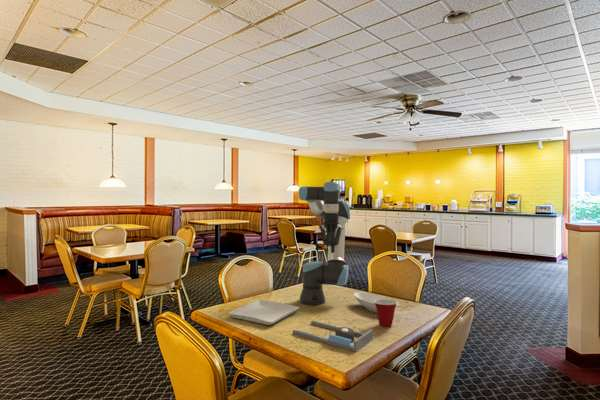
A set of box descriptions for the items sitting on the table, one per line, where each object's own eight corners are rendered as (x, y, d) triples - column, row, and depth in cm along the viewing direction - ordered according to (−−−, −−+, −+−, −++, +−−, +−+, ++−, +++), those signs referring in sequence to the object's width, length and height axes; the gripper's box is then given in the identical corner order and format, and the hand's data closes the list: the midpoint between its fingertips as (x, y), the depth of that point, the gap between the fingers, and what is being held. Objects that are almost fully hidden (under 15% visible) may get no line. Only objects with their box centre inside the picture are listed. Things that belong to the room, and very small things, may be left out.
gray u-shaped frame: (292, 333, 158) (292, 324, 158) (312, 323, 171) (312, 315, 171) (355, 352, 139) (355, 342, 139) (372, 339, 152) (373, 329, 152)
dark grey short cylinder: (331, 340, 151) (331, 330, 151) (341, 334, 157) (341, 325, 157) (348, 345, 146) (348, 334, 146) (357, 339, 152) (357, 329, 152)
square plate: (258, 305, 201) (258, 298, 201) (300, 313, 187) (300, 306, 187) (226, 319, 177) (226, 311, 177) (271, 329, 164) (271, 321, 164)
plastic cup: (388, 320, 176) (388, 296, 176) (401, 328, 166) (401, 302, 166) (369, 323, 172) (369, 298, 172) (382, 330, 162) (382, 304, 162)
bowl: (405, 315, 185) (405, 303, 185) (385, 320, 177) (385, 308, 177) (365, 301, 210) (365, 290, 210) (346, 305, 202) (346, 294, 202)
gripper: (316, 212, 178) (315, 258, 179) (338, 212, 171) (338, 261, 171) (323, 211, 185) (323, 256, 185) (346, 212, 177) (345, 259, 177)
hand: (330, 258), depth 178 cm, fingers closed
